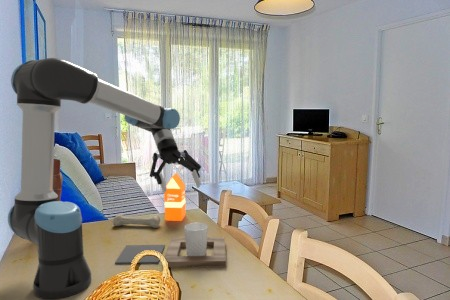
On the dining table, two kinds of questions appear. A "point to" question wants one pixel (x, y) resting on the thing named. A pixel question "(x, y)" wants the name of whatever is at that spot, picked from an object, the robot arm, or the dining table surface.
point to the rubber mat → (133, 250)
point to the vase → (57, 178)
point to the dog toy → (136, 221)
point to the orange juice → (175, 199)
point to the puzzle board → (196, 261)
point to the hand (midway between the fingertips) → (182, 188)
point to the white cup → (196, 239)
